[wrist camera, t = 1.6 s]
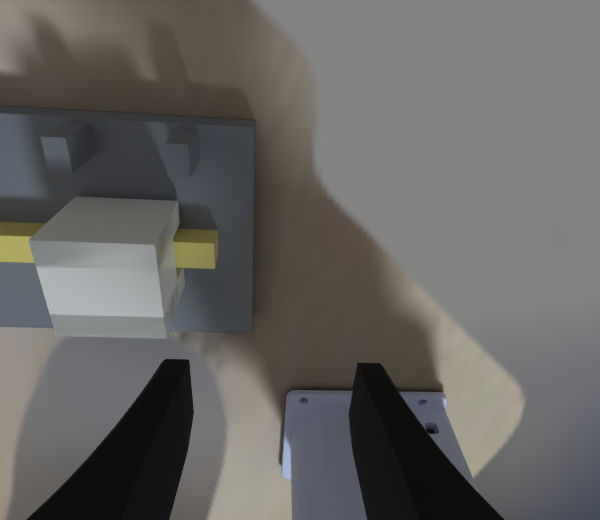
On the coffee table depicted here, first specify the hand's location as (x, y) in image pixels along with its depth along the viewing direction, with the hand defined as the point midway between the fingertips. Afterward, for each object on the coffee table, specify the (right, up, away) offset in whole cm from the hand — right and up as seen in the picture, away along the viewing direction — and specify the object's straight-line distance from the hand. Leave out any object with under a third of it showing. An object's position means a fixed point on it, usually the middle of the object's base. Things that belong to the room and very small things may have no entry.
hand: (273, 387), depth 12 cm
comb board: (-10, +5, +7) cm, 13 cm away
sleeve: (-6, +4, +7) cm, 10 cm away
